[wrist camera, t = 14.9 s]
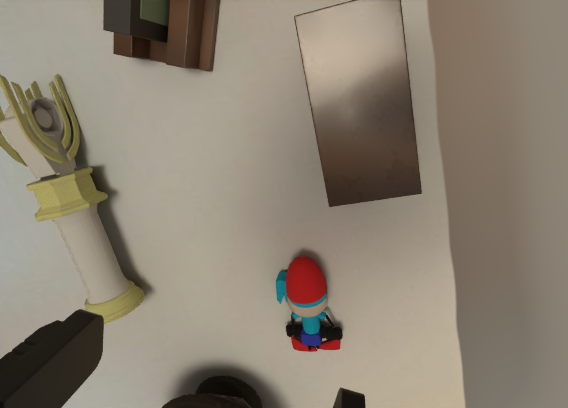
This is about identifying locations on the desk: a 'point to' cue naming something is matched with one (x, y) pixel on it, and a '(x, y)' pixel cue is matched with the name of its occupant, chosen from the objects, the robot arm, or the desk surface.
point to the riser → (360, 100)
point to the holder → (179, 37)
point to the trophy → (66, 193)
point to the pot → (219, 395)
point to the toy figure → (307, 305)
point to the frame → (138, 18)
